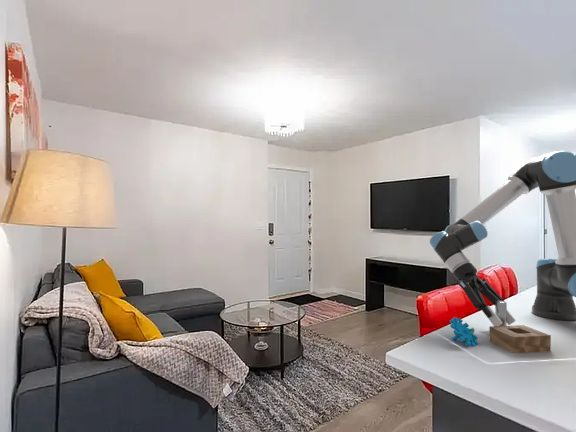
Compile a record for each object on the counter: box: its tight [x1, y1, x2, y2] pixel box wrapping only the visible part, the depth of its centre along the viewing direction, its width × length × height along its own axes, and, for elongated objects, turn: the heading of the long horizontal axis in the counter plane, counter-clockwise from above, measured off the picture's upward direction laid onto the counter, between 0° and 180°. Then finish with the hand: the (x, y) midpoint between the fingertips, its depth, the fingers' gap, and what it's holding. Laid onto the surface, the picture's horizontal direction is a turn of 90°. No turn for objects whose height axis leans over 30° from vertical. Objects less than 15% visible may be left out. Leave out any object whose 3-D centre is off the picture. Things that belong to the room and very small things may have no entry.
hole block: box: [489, 324, 552, 354], centre depth 107 cm, size 12×10×5 cm
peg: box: [494, 300, 508, 326], centre depth 117 cm, size 3×3×11 cm
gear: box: [449, 316, 479, 347], centre depth 111 cm, size 11×6×10 cm
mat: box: [479, 330, 490, 338], centre depth 117 cm, size 10×8×1 cm
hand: (505, 324), depth 114 cm, fingers open, 7 cm apart
